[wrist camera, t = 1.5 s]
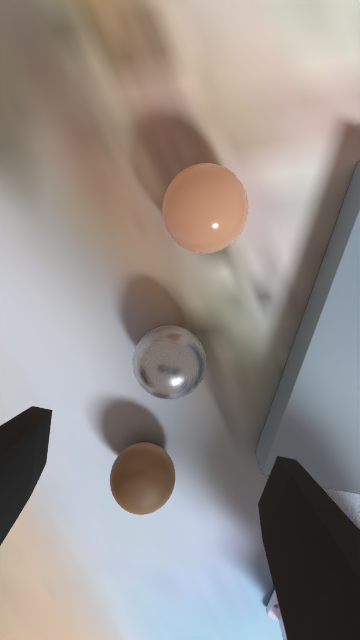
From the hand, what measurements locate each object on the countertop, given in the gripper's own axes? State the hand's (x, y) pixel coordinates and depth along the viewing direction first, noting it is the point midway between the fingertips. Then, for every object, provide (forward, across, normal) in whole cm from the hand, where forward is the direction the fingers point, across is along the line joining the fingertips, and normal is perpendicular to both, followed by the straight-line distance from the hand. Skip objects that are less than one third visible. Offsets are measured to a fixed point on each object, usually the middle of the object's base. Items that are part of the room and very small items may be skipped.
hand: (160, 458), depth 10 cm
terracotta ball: (+8, 0, -8) cm, 11 cm away
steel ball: (+8, 0, 0) cm, 8 cm away
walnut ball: (+8, 0, +8) cm, 11 cm away
